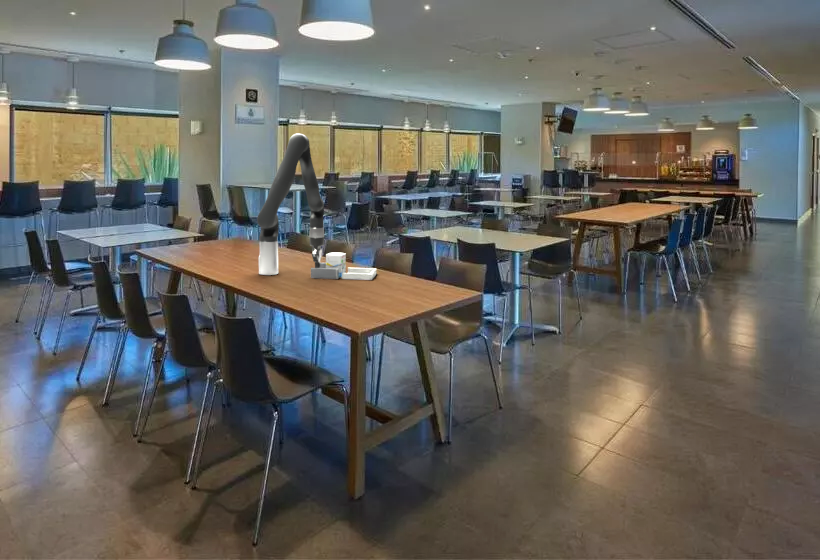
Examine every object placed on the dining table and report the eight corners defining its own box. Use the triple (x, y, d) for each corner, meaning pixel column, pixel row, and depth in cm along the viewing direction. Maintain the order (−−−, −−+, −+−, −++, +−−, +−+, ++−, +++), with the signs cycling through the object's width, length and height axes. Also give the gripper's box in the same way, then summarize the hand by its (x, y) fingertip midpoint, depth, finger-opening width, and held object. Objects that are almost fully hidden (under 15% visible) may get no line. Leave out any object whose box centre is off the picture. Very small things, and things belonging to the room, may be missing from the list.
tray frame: (342, 278, 306) (342, 273, 305) (348, 273, 322) (348, 267, 321) (371, 280, 305) (371, 274, 304) (376, 274, 320) (376, 268, 320)
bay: (310, 277, 307) (310, 268, 306) (319, 271, 324) (319, 262, 323) (337, 279, 305) (337, 269, 304) (344, 272, 323) (344, 263, 322)
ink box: (341, 277, 309) (341, 255, 307) (325, 276, 311) (325, 254, 309) (346, 274, 318) (346, 252, 315) (330, 273, 319) (330, 252, 317)
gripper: (313, 234, 318) (313, 266, 321) (306, 237, 305) (306, 271, 308) (327, 234, 317) (327, 267, 321) (320, 238, 304) (321, 271, 308)
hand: (317, 269), depth 315 cm, fingers closed
